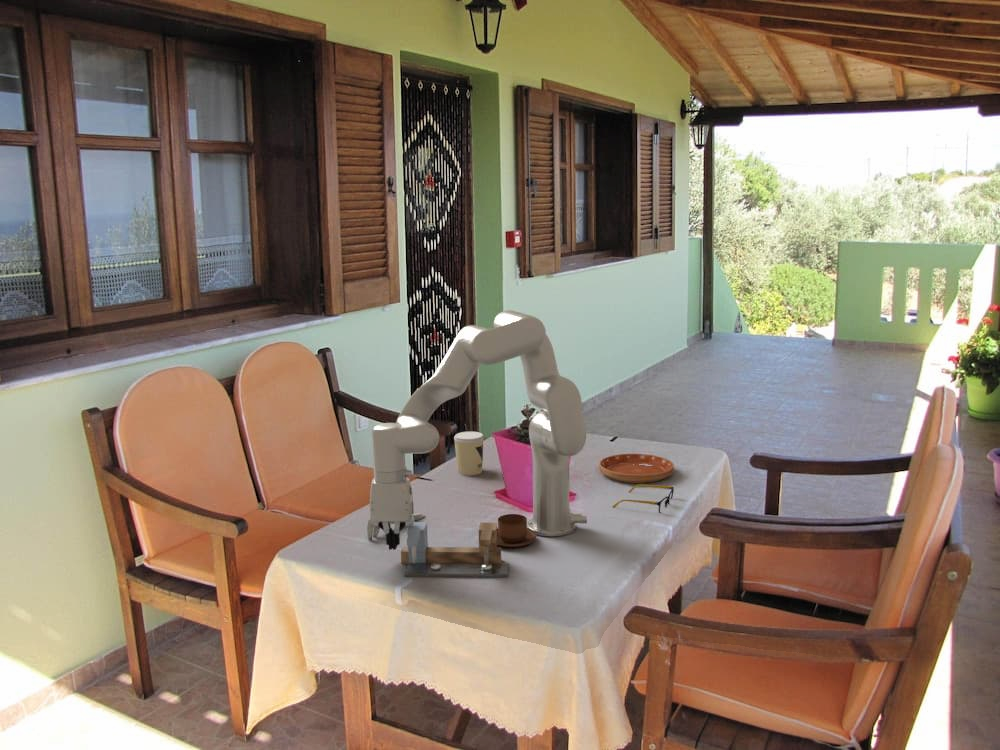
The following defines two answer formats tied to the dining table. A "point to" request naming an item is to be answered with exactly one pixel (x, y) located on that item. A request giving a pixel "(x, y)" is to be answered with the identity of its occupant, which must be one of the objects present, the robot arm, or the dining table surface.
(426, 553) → the beam
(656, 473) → the saucer
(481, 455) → the coffee cup
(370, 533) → the caliper
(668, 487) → the eyeglasses
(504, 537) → the cup and saucer
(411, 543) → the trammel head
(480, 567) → the bolt plate
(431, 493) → the dining table surface
